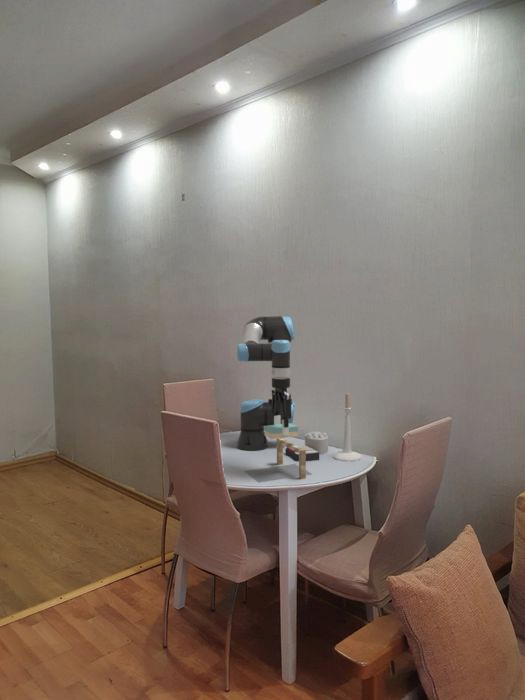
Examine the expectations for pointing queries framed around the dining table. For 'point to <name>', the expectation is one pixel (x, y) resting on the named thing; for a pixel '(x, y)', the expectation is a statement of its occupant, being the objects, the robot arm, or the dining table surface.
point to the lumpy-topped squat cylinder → (317, 441)
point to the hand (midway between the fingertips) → (281, 432)
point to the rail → (299, 450)
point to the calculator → (310, 453)
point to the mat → (275, 473)
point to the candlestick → (347, 437)
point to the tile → (280, 431)
